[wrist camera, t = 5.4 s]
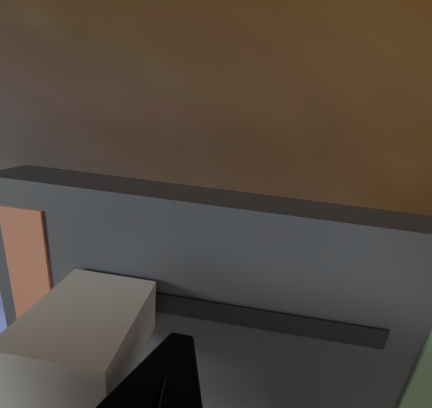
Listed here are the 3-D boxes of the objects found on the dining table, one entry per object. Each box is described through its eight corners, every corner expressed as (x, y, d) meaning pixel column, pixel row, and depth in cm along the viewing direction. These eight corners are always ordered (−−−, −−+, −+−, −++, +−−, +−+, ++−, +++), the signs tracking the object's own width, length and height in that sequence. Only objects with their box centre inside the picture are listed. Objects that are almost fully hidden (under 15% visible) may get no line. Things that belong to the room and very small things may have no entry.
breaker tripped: (78, 314, 10) (-4, 409, 7) (75, 268, 9) (-18, 349, 6) (154, 327, 10) (107, 431, 7) (156, 281, 9) (105, 372, 6)
